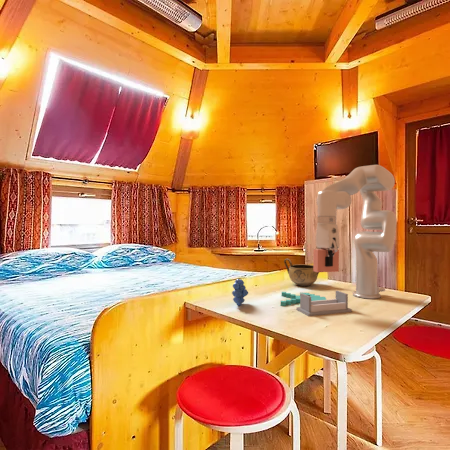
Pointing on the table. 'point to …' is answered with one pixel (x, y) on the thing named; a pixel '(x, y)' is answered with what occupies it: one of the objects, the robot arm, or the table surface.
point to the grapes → (239, 292)
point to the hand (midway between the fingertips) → (326, 265)
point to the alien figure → (298, 298)
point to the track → (324, 305)
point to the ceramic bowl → (301, 273)
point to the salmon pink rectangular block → (320, 261)
